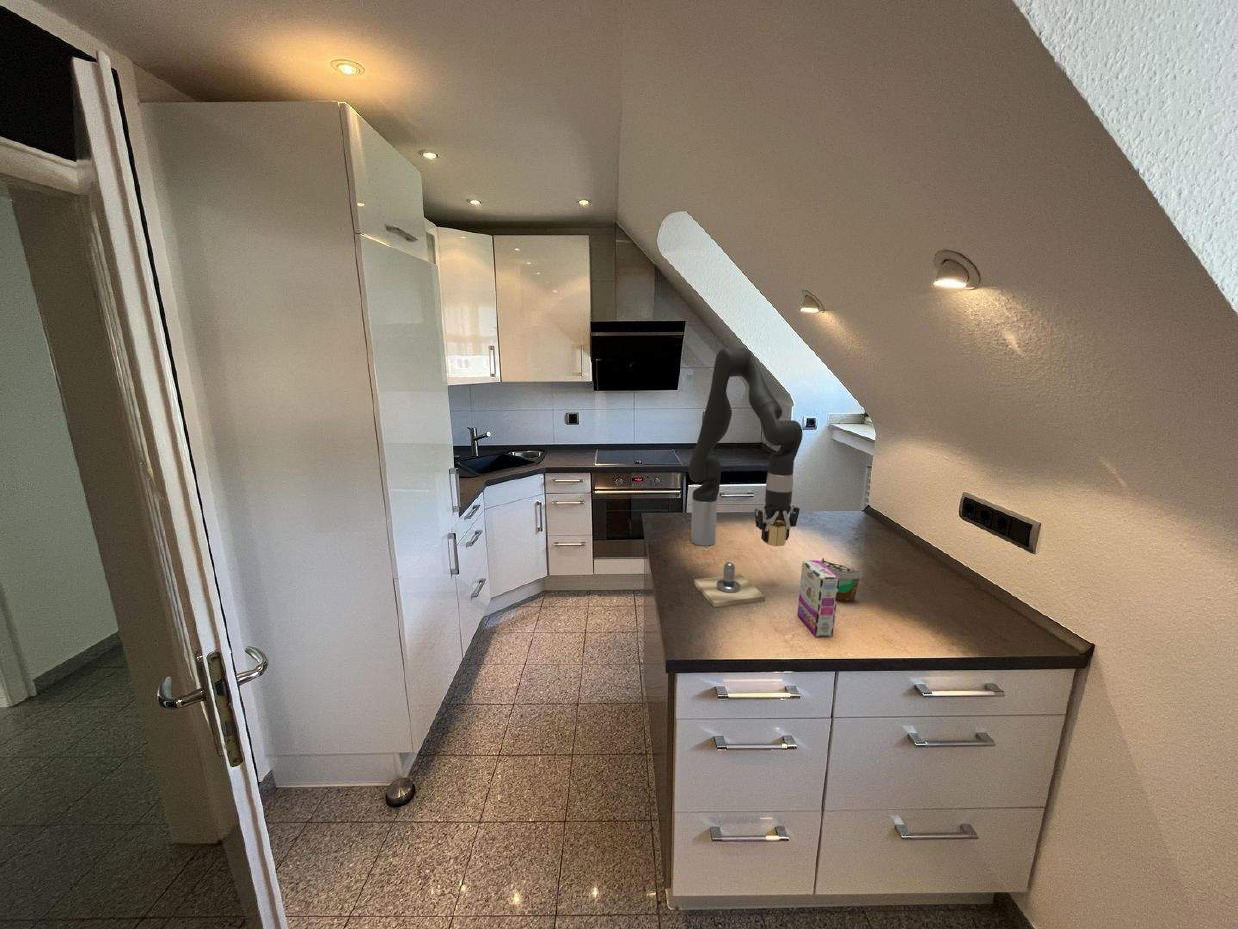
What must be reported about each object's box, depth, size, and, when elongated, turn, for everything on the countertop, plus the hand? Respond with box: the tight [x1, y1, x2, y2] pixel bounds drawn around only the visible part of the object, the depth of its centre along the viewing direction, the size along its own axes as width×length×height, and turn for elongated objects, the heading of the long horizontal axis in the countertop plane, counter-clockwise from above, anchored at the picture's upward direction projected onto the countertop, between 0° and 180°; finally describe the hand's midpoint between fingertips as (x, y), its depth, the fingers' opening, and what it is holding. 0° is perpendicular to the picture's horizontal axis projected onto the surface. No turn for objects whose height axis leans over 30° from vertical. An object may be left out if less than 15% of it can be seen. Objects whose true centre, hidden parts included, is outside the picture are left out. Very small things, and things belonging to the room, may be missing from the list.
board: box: [693, 573, 766, 608], centre depth 146 cm, size 15×16×2 cm
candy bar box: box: [797, 560, 840, 638], centre depth 127 cm, size 11×5×16 cm, turn 4°
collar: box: [765, 520, 787, 547], centre depth 147 cm, size 6×6×6 cm
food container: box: [820, 557, 863, 603], centre depth 142 cm, size 12×6×10 cm, turn 40°
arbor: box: [717, 561, 740, 593], centre depth 145 cm, size 7×7×8 cm
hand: (774, 540), depth 147 cm, fingers closed on collar, 6 cm apart
